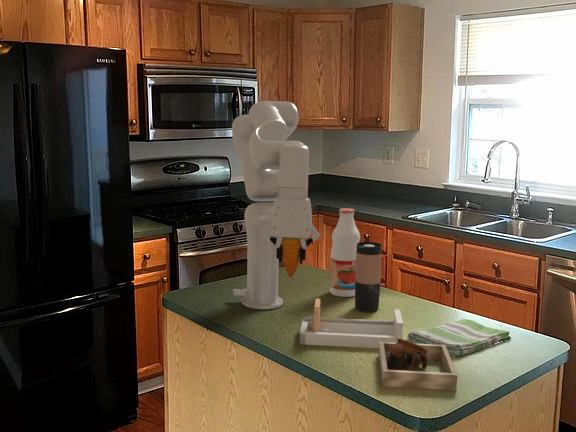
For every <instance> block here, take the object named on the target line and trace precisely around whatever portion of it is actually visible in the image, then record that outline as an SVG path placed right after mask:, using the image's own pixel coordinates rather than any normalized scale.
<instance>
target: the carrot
mask: <svg viewBox="0 0 576 432" xmlns="http://www.w3.org/2000/svg"><path fill="white" fill-rule="evenodd" d="M281 244H282V249H283V258H282V261H283V264H284V265H283V266H284V269H285V271H286V274H287V276H288V277H289V278H290V279H291V278H293V276H294V275H295V273H296V271H297V269H298V266H299V262H300V247H301V241H300V239H299V238H282V242H281Z"/></svg>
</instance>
